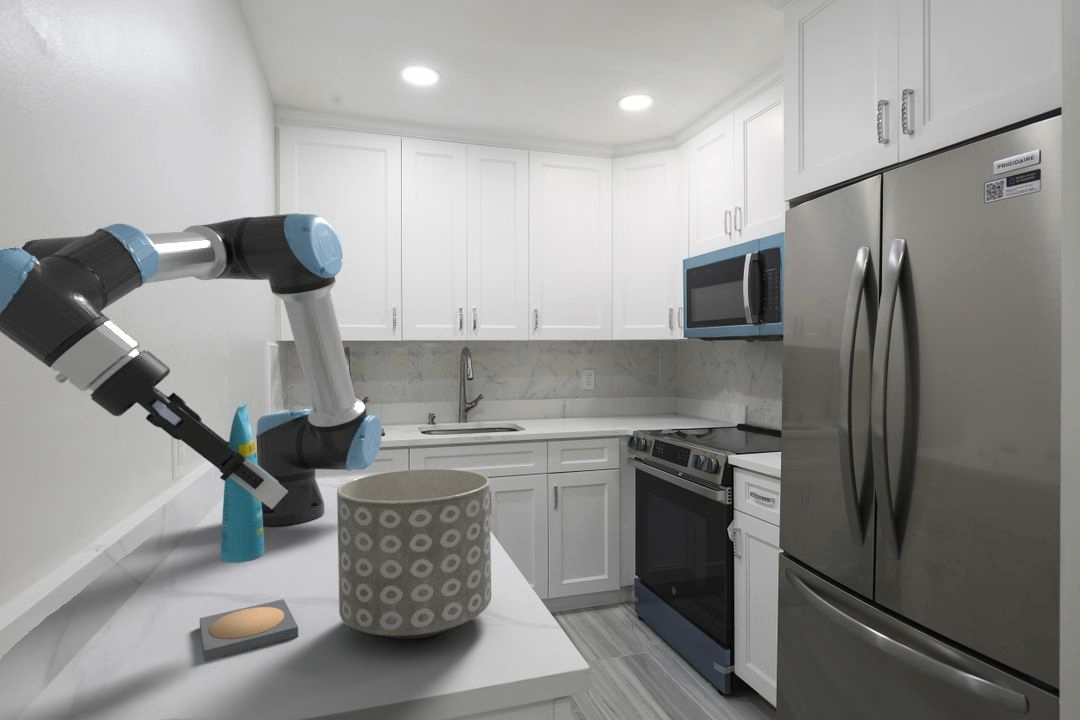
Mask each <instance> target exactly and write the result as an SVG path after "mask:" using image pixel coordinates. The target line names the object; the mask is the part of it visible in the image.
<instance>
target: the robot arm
mask: <svg viewBox="0 0 1080 720" xmlns="http://www.w3.org/2000/svg"><path fill="white" fill-rule="evenodd" d="M334 229H335V228H333V227H332V225H331V224H330V223H329V222H328V221H326V219H324V217H322V216H320V215H317V214H312V213H298V212H297V213H295V212H294V213H285V214H274V215H263V216H262V215H261V216H248V217H247V216H246V217H245V216H244V217H241V218H235V219H227V220H224V221H219V222H213V223H207V224H197V225H190V226H188V227H186V228H185V229H184V230H182V231H176V232H175V231H174V232H156V233H145V232H144V231H142V230H140V229H139V228H137V227H134V226H133V225H131V224H126V223H114V224H113V223H112V224H111V225H108V226H105V227H101V228H100V227H99V228H97V229H96V230H95V231H94V232H92V233H91V234H88V235H83V236H82V235H81V236H67V237H53V238H39V240H38V239H30V240H31V241H28V242H26V243H25V245H24V246H23V247H22V249H20V248H16V247H15V248H9V249H3V250H0V333H1V334H3V335H4V336H6V337H7V338H8V339H9V340H10V341H12V342H13V343H15V344H16V345H18V346H19V347H21V348H22V349H24V351H26V352H28V354H30V355H32V356H33V357H34V358H35V359H37V360H38V361H39V362H41V363H42V364H44V365H45V366H47V367H48V368H50V369H52V370H53V371H54V372H59V373H58V374H57V375H55V377H54V379H55V381H56V382H57V383H59V384H64V383H65V382H66V381H68V380H69V384H71V385H73V387H76V388H77V389H78V390H79V391H80V392H87V391H88V390H90V391H92V392H91V394H90V395H89V396H90V397H91V400H92V401H93V402H95V403H96V404H97V405H99V407H101V408H103V409H104V410H105V411H107V412H108V413H109V414H110V415H112V416H114V417H120V416H122V415H124V414H125V413H126V412H127V411H128V410H129V409H131V408H133V406H135V405H136V404H138V405H139V406H141V407H142V408H143V409H144V410H146V411H147V412H148V414H147V416H145V420H147V422H149V423H150V424H152V425H153V426H154V427H157V428H161V429H162V431H165V433H167V434H168V435H169V436H171V437H172V438H173V439H175V440H177V441H182V442H183V443H185V444H186V445H187V446H189V447H190V448H191V449H192V450H194V451H195V453H198V454H199V455H200V456H201V457H203V458H204V459H205V460H206V461H208V462H209V463H211V464H212V465H213V466H215V467H216V468H217V469H218V470H219V472H220V473H222V474H221V476H220V477H219V478H220V479H221V480H223V481H224V482H225V480H226V479H227V478H228V477H230V478H232V479H233V480H234V481H235V482H237V483H238V484H239V485H241V486H242V487H243V488H245V489H246V490H247V491H249V492H250V493H251V494H253V495H254V496H255V497H256V498H258V499H259V500H260V501H261V503H262V517H263V527H264V526H267V527H270V526H271V527H272V526H275V527H276V526H286V525H295V524H300V523H301V524H302V523H305V522H309V521H313V520H315V519H318V518H319V517H321V516H323V515H324V514H325V501H324V498H323V495H322V492H321V490H320V488H319V487H320V486H319V485H318V482H317V479H316V470H326V471H327V470H329V471H330V470H332V471H335V470H336V471H337V470H340V471H347V472H351V471H359V470H360V471H362V470H365V469H368V468H369V467H371V466H372V464H373V463H374V462H375V461H376V459H377V456H378V454H379V451H380V449H381V448H380V447H381V444H382V436H383V435H382V433H383V432H382V431H383V430H382V424H381V420H380V419H379V418H378V417H377V416H376V415H373V414H369V415H368V413H367V409H366V405H365V404H364V401H362V400H360V399H358V398H357V397H356V395H355V391H354V387H353V383H352V379H351V377H352V376H351V375H350V369H349V365H348V361H347V358H346V353H345V350H344V345H343V340H342V337H341V333H340V329H339V323H338V320H337V315H336V311H335V307H334V304H333V298H332V295H331V290H332V288H333V287H334V285H335V284H336V282H337V280H336V277H335V276H337V275H338V274H339V273H340V271H341V269H342V266H343V261H342V259H343V250H342V245H341V242H340V239H339V237H338V234H337V233H336V231H335V230H334ZM192 277H193V278H194V279H197V280H201V281H211V280H218V279H219V280H223V279H225V280H226V279H227V280H250V281H256V280H257V281H258V280H259V281H261V280H263V281H264V280H265V281H268V282H269V286H270V287H269V288H270V290H271V293H272V294H273V295H274V296H276V297H278V298H280V299H281V300H282V301H283V304H284V309H285V311H286V315H287V318H288V323H289V327H290V330H291V333H292V336H293V341H294V344H295V347H296V352H297V355H298V359H299V362H300V365H301V369H302V373H303V376H304V377H303V378H304V381H305V384H306V388H307V392H308V394H309V399H310V402H311V406H312V408H305V409H298V410H292V411H291V410H290V411H285V412H284V411H283V412H278V413H272V414H265V415H262V416H260V417H259V419H258V420H257V423H256V434H255V438H256V455H257V463H258V467H257V466H256V465H254V464H253V463H252V462H251V461H249V460H248V459H247V458H245V459H244V456H243V455H241V454H240V453H237V452H236V451H234V450H233V449H232V448H231V447H229V441H228V440H225V439H224V438H223V437H221V436H220V435H219V434H217V433H216V432H215V431H214V430H213V429H212V428H211V427H209V426H207V425H206V424H205V423H204V422H203V421H202V418H201V417H200V415H199V414H198V413H197V412H196V411H194V410H193V409H192V408H190V407H189V406H188V405H187V403H186V401H185V400H183V398H181V397H180V396H179V395H178V394H177V393H175V392H172V393H171V394H170V395H169V396H168V395H166V394H165V393H163V392H162V391H161V390H160V389H158V388H157V387H156V386H157V385H158V384H160V383H161V382H162V381H163V380H164V379H165V378H166V377H167V376H169V375H170V372H171V370H170V369H171V368H170V367H169V366H167V365H166V364H165V363H164V362H162V360H160V359H159V358H158V357H156V356H155V355H154V354H153V353H151V352H150V351H149V350H147V351H146V350H143V351H140V350H139V348H140V346H141V345H140V342H139V341H137V339H135V338H134V337H132V336H131V335H130V334H129V333H128V332H127V331H125V330H124V329H123V328H122V327H120V326H119V325H118V324H117V323H116V322H114V321H113V320H112V319H110V318H108V317H107V316H106V315H105V314H104V313H103V312H102V311H103V310H104V309H106V308H107V307H109V306H110V305H112V304H113V303H115V302H117V301H118V300H119V299H121V298H123V297H124V296H126V295H128V294H130V293H131V292H132V291H134V290H135V289H138V288H139V289H140V288H141V287H143V286H144V284H145V285H146V284H150V283H151V284H152V283H159V282H165V281H172V280H178V279H185V278H192ZM229 456H230V457H229ZM228 457H229V458H228ZM227 458H228V459H227Z"/></svg>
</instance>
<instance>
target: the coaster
mask: <svg viewBox="0 0 1080 720" xmlns="http://www.w3.org/2000/svg"><path fill="white" fill-rule="evenodd" d="M199 630H200V639H201V645H202V651H203V659H204V662H206V661H210V660H213V659H214V658H215V659H218V658H221V657H226V656H230V655H233V654H236V653H237V654H238V653H240V652H244V651H248V650H252V649H256V648H260V647H263V646H267V645H270V644H275V643H278V642H282V641H286V640H290V639H293V638H297V637H299V626H298V624H297V622H296V620H295V618H294V616H293V614H292V613H291V611H290V608H289V607H288V604H287V602H286V600H285V599H284V598H283V599H278V600H274V601H273V600H272V601H270V602H264V603H260V604H256V605H252V606H247V607H243V608H238V609H233V610H230V611H226V612H225V611H224V612H221V613H217V614H211V615H207V616H203V617H200V618H199Z"/></svg>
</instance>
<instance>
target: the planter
mask: <svg viewBox="0 0 1080 720" xmlns="http://www.w3.org/2000/svg"><path fill="white" fill-rule="evenodd" d="M490 487H491V486H490V479H489V478H488V477H487V476H486V475H484V474H481V473H479V472H474V471H469V470H463V469H462V470H461V469H449V468H421V469H418V468H417V469H401V470H395V471H387V472H386V471H385V472H379V473H373V474H369V475H365V476H360V477H357V478H354V479H350V480H348V481H346V482H344V483H342V484H341V485H339V487H338V488H337V490H336V499H337V501H336V502H337V503H336V504H337V506H336V507H337V508H336V509H337V555H338V556H337V560H338V565H337V566H338V606H339V607H338V609H339V610H338V612H339V617H340V619H341V621H342V622H344V623H345V625H347V626H348V627H350V629H351V628H352V629H354V630H355V631H359V632H361V633H366V634H369V635H370V634H371V635H375V636H376V635H377V636H383V637H386V638H391V639H397V640H419V639H424V638H429V637H433V636H437V635H439V634H441V633H444V632H446V631H449V630H450V629H453V628H454V627H458V626H460V625H462V624H464V623H467V622H468V621H471V620H472V619H474V618H476V617H478V616H479V615H480V614H481V613H482V612H484V611H485V610H486V609H487V608H488V606H489V605H490V603H491V599H492V556H491V555H492V552H491V549H492V548H491V547H492V546H491V496H490V495H491V492H490V491H491V489H490Z"/></svg>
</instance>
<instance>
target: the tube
mask: <svg viewBox="0 0 1080 720" xmlns="http://www.w3.org/2000/svg"><path fill="white" fill-rule="evenodd" d="M230 429H231V430H230V434H229V438H228V439H229V440H228V442H229V447H231V448H232V449H233V450H234V451H236V452H237V453H240V454H241V455H243V456H244V459H245V458H247V459H248V460H249V461H251V462H252V463H253V464H254V465H256V466H257V467H258V463H257V447H256V444H255V443H256V442H255V437H254V431H253V426H252V423H251V418H250V412H249V410H248V403H247V402H244V403H243V405H241V406H237V409H236V411H235V413H234V416H233V419H232V424H231V428H230ZM229 457H230V456H229ZM229 457H228V458H229ZM228 458H227V459H228ZM222 503H223V504H222V519H221V520H222V521H221V542H220V561H221V562H223V563H229V564H240V563H245V562H251V561H255V560H257V559H259V558H261V557H263V556H264V555H265V535H264V526H263V517H262V503H261V501H260V500H259V499H258V498H256V497H255V496H254V495H253V494H251V493H250V492H249V491H247V490H246V489H245V488H243V487H242V486H241V485H239V484H238V483H237V482H235V481H234V480H233V479H232V478H230V477H228V478H227V479H226V480H225V481H224V488H223V501H222Z"/></svg>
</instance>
